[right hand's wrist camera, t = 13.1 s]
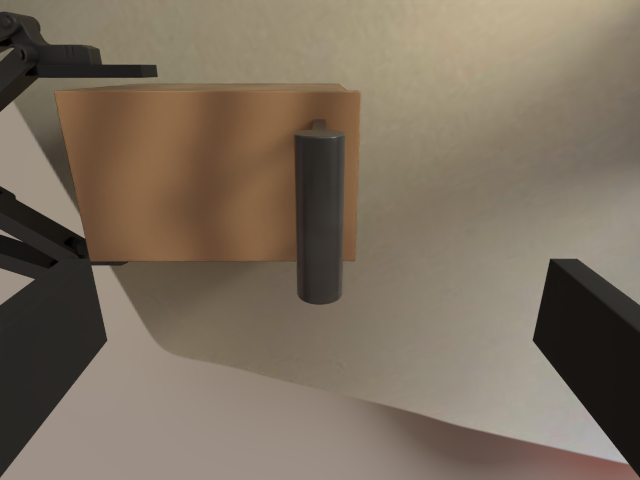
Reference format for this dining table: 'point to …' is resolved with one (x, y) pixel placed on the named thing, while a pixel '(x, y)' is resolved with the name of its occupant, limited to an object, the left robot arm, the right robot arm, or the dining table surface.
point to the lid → (218, 177)
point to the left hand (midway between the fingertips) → (162, 163)
